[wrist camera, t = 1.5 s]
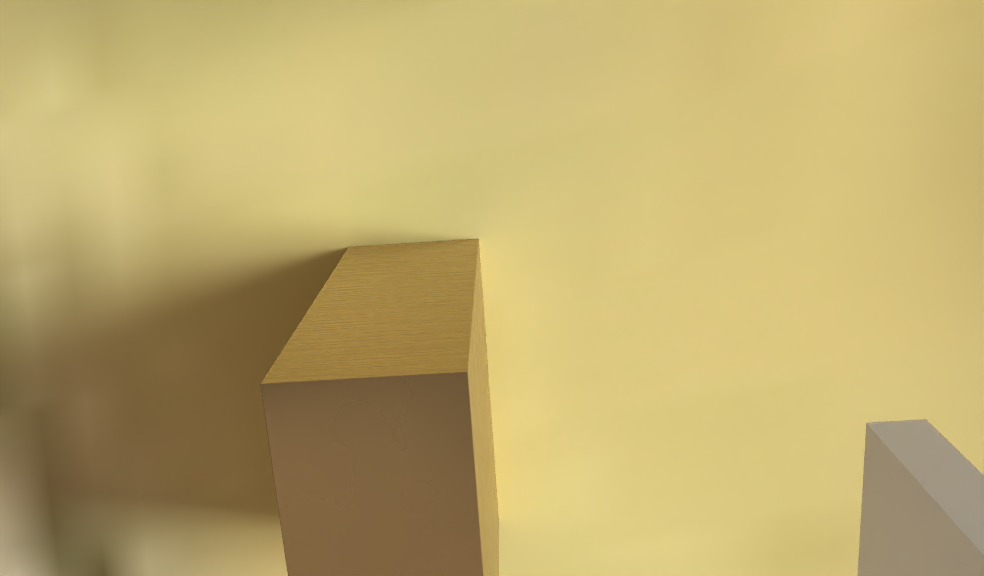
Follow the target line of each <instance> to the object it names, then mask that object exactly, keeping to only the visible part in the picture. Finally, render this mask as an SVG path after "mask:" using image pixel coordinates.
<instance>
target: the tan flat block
mask: <svg viewBox="0 0 984 576" xmlns="http://www.w3.org/2000/svg"><path fill="white" fill-rule="evenodd" d="M261 390H262V397H263V404H264V411H265V418H266V425H267V432H268V439H269V446H270V453H271V460H272V467H273V474H274V481H275V488H276V495H277V502H278V509H279V516H280V523H281V530H282V537H283V544H284V551H285V558H286V565H287V572H288V576H499V517H498V503H497V489H496V475H495V461H494V446H493V432H492V418H491V404H490V390H489V376H488V362H487V347H486V333H485V319H484V305H483V291H482V277H481V263H480V248H479V239H468V240H452V241H436V242H420V243H404V244H388V245H371V246H355V247H348V249H347V250H346V252H345V254H344V255H343V257H342V258H341V260H340V261H339V263H338V264H337V266H336V267H335V269H334V271H333V272H332V274H331V275H330V277H329V278H328V280H327V281H326V283H325V285H324V286H323V288H322V289H321V291H320V292H319V294H318V295H317V297H316V299H315V300H314V302H313V303H312V305H311V306H310V308H309V309H308V311H307V313H306V314H305V316H304V317H303V319H302V320H301V322H300V323H299V325H298V326H297V328H296V330H295V331H294V333H293V334H292V336H291V337H290V339H289V340H288V342H287V344H286V345H285V347H284V348H283V350H282V351H281V353H280V354H279V356H278V358H277V359H276V361H275V362H274V364H273V365H272V367H271V368H270V370H269V372H268V373H267V375H266V376H265V378H264V379H263V381H262V382H261Z"/></svg>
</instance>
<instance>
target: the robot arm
mask: <svg viewBox="0 0 984 576" xmlns="http://www.w3.org/2000/svg"><path fill="white" fill-rule="evenodd" d="M858 576H984V475H983V474H982V473H981V472H980V471H979V470H978V469H977V468H976V467H975V466H974V465H973V464H972V463H971V462H970V461H968V460H967V459H966V458H965V457H964V456H963V455H962V454H961V453H960V452H959V451H958V450H957V449H956V448H955V447H954V446H953V445H952V444H951V443H950V442H949V441H948V440H947V439H946V438H945V437H944V436H943V435H942V434H941V433H940V432H939V431H938V430H936V429H935V428H934V427H933V426H932V425H931V424H930V423H929V422H928V421H927V420H926V419H923V420H906V421H890V422H873V423H866V440H865V457H864V474H863V492H862V509H861V526H860V543H859V561H858Z"/></svg>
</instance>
